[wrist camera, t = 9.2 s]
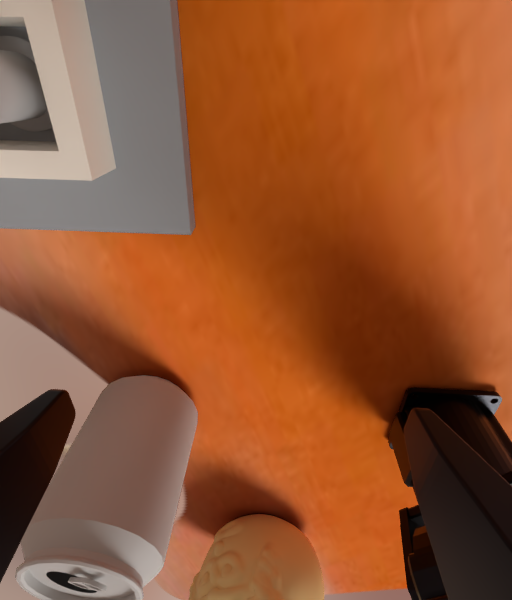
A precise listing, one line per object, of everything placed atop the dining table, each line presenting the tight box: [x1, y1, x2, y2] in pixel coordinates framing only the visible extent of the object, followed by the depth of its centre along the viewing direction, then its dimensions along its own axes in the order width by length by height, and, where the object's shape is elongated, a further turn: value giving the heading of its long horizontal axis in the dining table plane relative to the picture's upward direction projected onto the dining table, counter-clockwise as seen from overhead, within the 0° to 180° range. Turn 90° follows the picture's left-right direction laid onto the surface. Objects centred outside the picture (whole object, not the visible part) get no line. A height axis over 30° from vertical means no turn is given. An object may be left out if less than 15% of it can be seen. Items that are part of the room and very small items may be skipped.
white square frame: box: [0, 0, 116, 181], centre depth 14 cm, size 6×6×2 cm
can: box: [15, 375, 198, 600], centre depth 22 cm, size 8×8×12 cm
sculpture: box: [189, 514, 324, 600], centre depth 32 cm, size 11×12×11 cm
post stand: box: [0, 0, 195, 235], centre depth 14 cm, size 13×13×5 cm
